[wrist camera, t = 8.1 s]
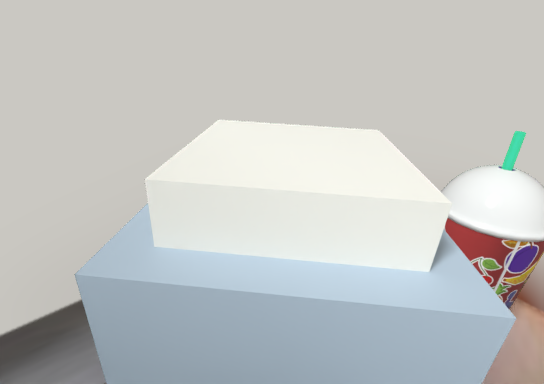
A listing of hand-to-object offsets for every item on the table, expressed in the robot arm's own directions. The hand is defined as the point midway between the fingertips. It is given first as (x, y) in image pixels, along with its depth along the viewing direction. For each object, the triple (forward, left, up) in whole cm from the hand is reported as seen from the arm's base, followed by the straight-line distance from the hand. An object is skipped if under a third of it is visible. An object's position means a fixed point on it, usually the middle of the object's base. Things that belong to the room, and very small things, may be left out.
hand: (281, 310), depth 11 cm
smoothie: (+7, +21, -16) cm, 27 cm away
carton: (+1, -2, -9) cm, 9 cm away
